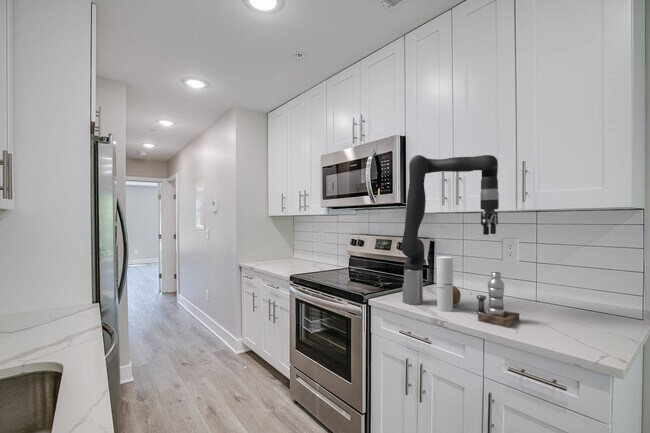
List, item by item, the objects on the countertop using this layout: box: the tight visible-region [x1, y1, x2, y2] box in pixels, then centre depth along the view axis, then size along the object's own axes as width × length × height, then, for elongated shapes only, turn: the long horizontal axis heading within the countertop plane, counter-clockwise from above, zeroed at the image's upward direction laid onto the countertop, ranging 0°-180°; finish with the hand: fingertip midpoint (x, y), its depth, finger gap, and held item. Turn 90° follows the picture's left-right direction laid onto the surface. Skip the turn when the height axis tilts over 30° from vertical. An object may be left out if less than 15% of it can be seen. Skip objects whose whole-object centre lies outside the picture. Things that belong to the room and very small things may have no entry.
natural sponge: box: [453, 285, 462, 307], centre depth 163 cm, size 9×9×10 cm
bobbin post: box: [476, 294, 487, 315], centre depth 149 cm, size 4×4×8 cm
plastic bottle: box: [487, 271, 506, 318], centre depth 140 cm, size 6×7×20 cm
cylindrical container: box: [436, 255, 454, 312], centre depth 156 cm, size 7×7×25 cm
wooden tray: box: [477, 310, 520, 329], centre depth 139 cm, size 12×13×3 cm
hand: (489, 234), depth 151 cm, fingers open, 8 cm apart
